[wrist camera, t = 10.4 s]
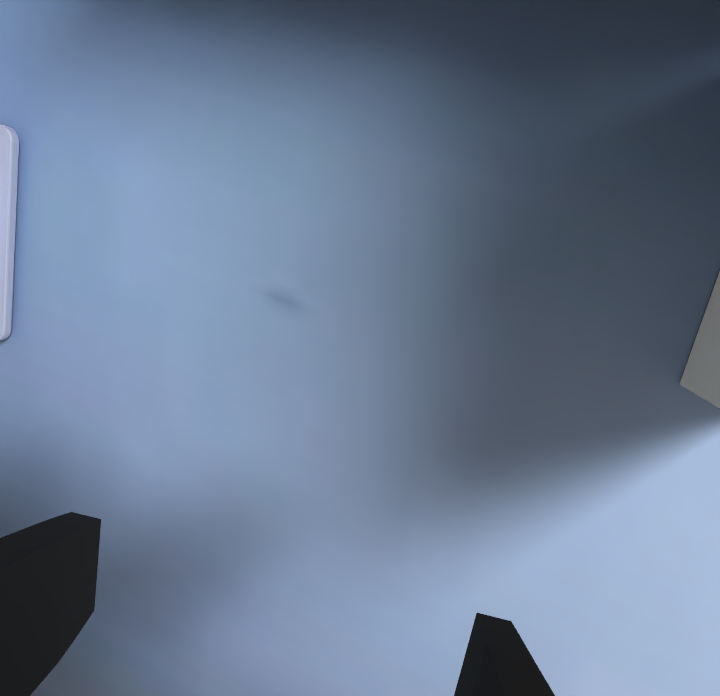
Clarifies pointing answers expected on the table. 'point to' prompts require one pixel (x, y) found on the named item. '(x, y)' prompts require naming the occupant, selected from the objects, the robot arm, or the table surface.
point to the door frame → (706, 354)
